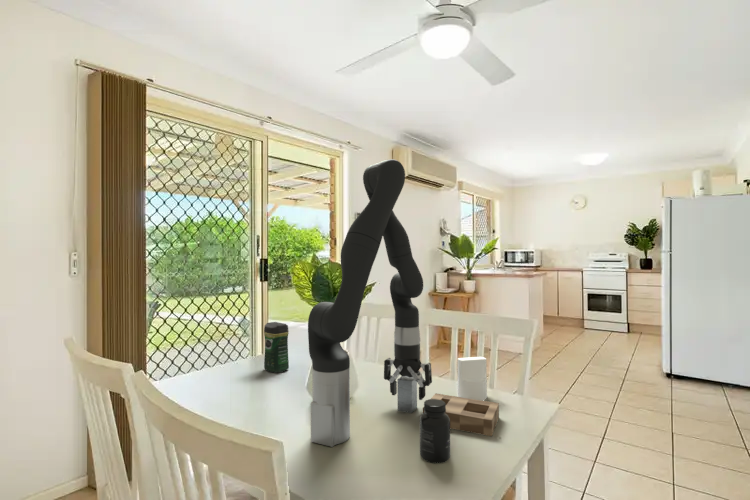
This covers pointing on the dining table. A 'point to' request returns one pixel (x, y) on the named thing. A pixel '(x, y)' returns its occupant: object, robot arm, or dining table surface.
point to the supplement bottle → (435, 432)
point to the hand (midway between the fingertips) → (407, 396)
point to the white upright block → (472, 378)
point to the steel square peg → (407, 394)
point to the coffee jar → (276, 347)
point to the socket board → (470, 414)
